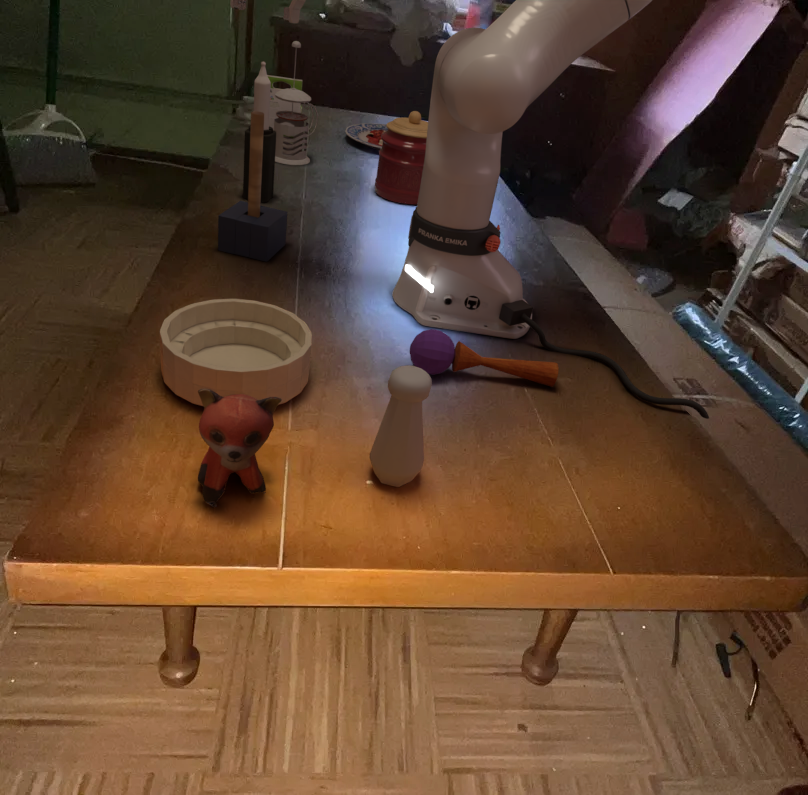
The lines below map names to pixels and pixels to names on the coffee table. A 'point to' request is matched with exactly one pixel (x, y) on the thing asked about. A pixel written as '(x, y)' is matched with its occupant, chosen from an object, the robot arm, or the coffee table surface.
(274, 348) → the bowl
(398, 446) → the salt shaker
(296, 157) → the french press
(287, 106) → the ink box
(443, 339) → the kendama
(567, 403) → the coffee table surface
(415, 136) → the kitchen canister
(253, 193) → the stick
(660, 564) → the coffee table surface
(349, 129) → the ceramic plate
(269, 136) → the black and white bottle
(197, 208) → the coffee table surface
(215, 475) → the stuffed fox
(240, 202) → the stand
